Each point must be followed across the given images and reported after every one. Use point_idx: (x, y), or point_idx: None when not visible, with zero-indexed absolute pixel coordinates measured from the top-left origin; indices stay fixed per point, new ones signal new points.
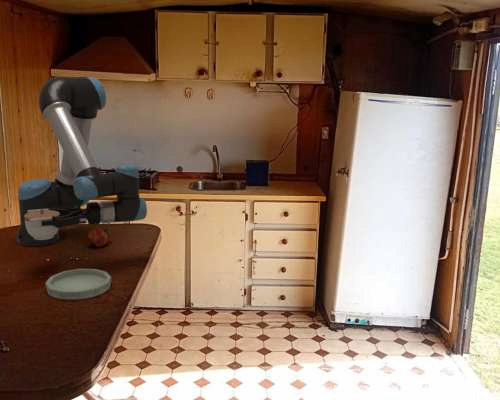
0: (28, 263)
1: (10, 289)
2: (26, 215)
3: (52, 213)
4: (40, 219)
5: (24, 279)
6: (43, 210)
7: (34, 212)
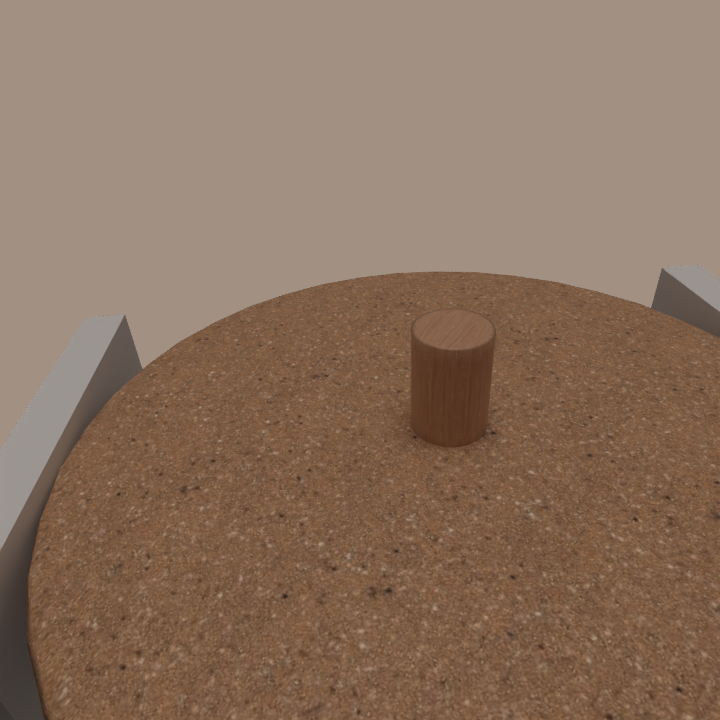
0: None
1: None
2: (386, 282)
3: (437, 648)
4: (19, 433)
5: None
6: (445, 378)
7: (557, 327)
